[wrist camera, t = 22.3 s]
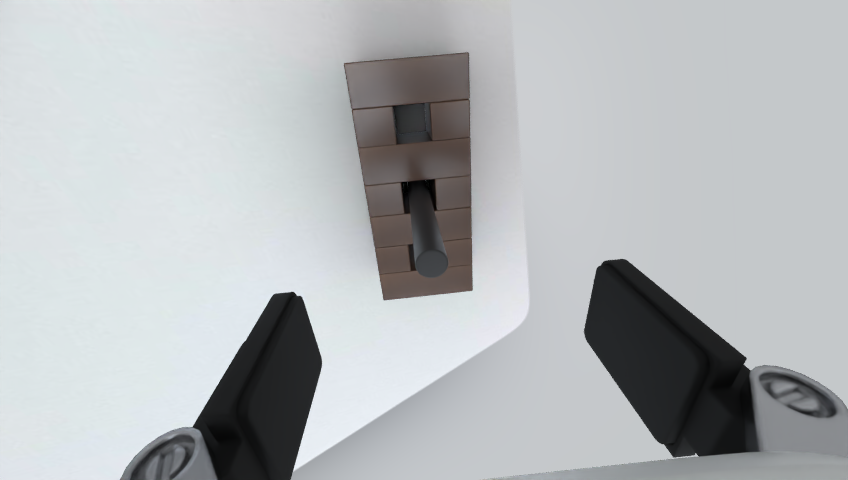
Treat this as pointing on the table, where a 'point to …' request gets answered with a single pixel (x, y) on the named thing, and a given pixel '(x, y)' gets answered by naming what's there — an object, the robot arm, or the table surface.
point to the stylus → (426, 232)
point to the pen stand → (415, 164)
